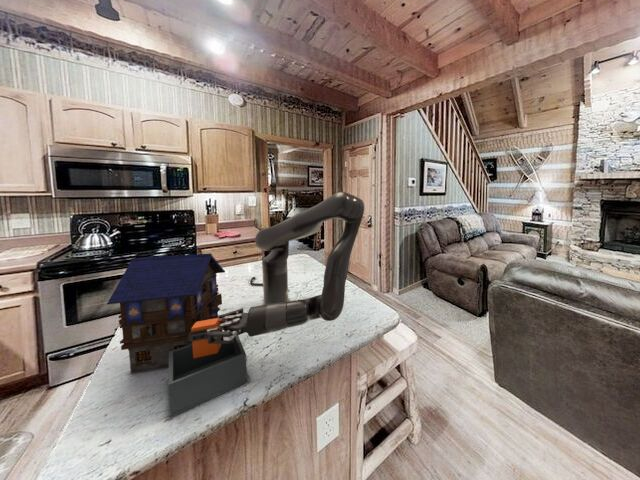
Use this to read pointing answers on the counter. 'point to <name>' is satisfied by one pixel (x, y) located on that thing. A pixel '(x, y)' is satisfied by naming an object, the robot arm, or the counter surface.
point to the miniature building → (164, 305)
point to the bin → (204, 375)
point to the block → (202, 346)
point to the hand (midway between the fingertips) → (192, 332)
